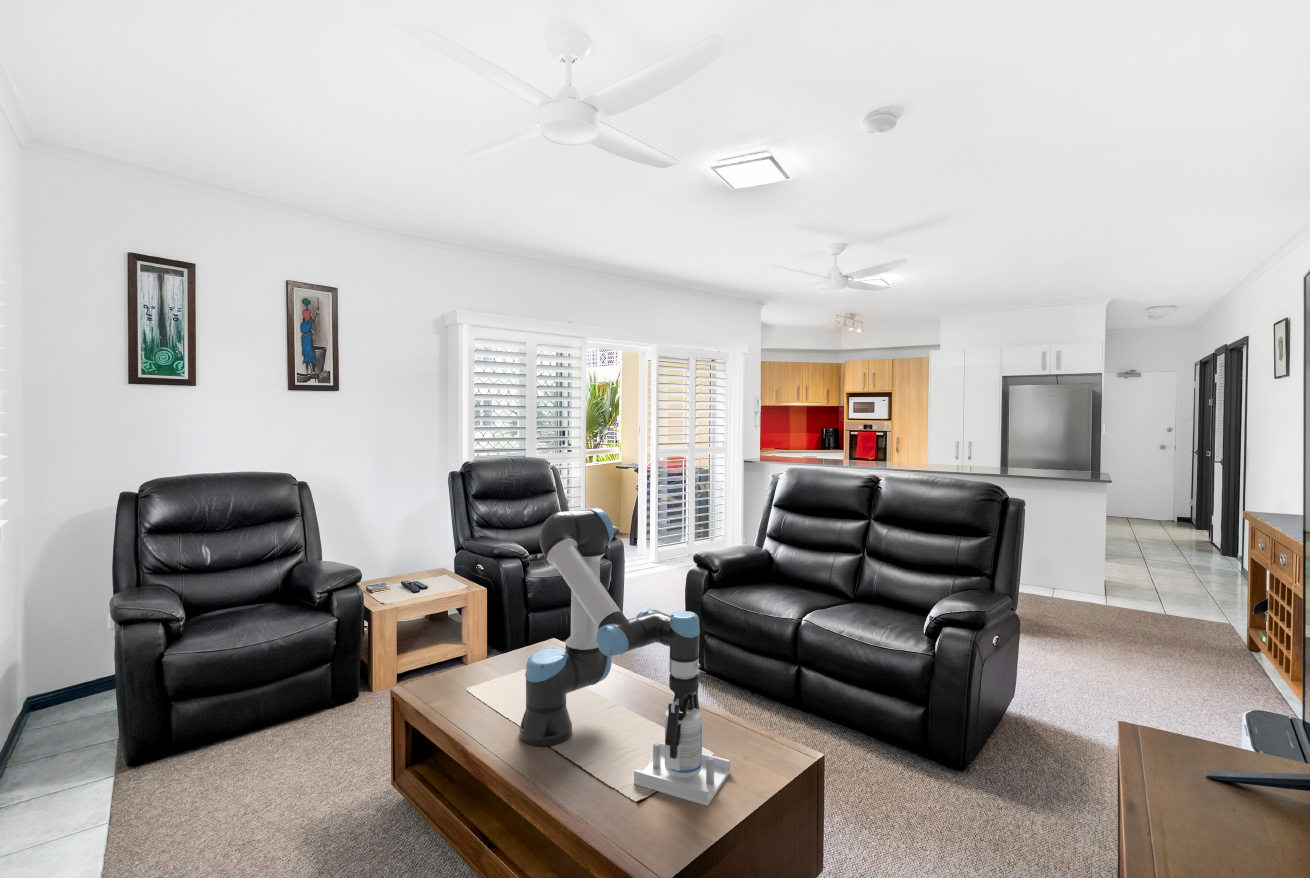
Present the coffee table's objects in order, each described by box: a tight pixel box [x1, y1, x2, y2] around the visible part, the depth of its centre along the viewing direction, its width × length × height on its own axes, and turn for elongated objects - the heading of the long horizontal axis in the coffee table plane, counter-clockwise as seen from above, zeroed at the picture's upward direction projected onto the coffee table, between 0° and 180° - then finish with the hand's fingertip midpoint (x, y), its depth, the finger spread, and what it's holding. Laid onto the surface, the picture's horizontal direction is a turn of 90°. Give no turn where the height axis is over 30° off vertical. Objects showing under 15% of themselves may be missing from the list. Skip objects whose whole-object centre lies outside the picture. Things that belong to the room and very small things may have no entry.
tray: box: [633, 742, 731, 807], centre depth 166 cm, size 20×16×7 cm
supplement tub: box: [664, 708, 703, 778], centre depth 166 cm, size 10×10×15 cm
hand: (682, 759), depth 166 cm, fingers closed on supplement tub, 9 cm apart
